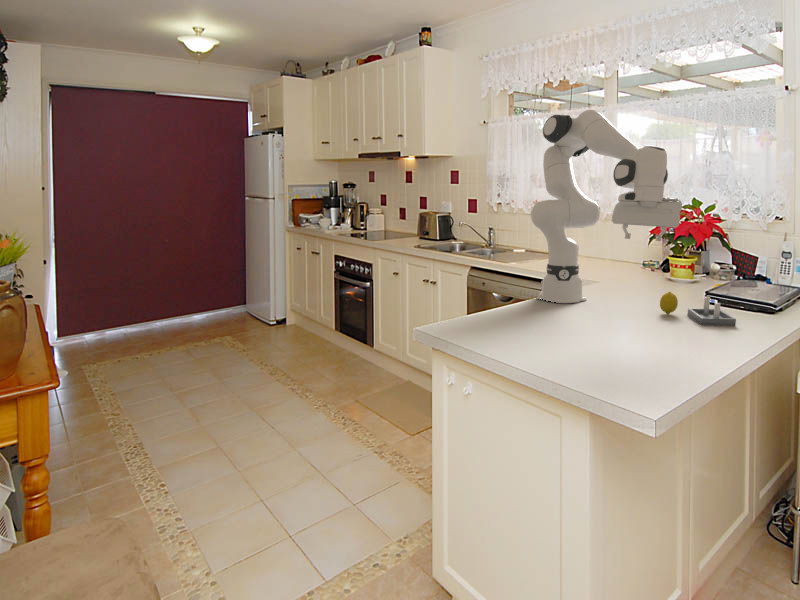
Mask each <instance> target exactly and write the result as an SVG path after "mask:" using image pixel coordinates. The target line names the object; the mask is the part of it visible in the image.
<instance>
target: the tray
mask: <svg viewBox="0 0 800 600" xmlns="http://www.w3.org/2000/svg"><path fill="white" fill-rule="evenodd" d="M710 300H711V297H710V296H705V297H704V301H703V308H687V314H686V316H687V317H688V318H690V319H691V320H692V321H694V322H695V323H696V324H698V325H699V326H700V325H701V326H702V327H723V326H735V327H736V322H737V318H736V317H733V316H732V315H730V314H728V313H727V312H725V311H723V310H722V309H721V305H722V304H721V302H714V308H710V302H711V301H710ZM701 326H700V327H701Z"/></svg>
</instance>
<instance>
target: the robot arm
mask: <svg viewBox="0 0 800 600" xmlns="http://www.w3.org/2000/svg"><path fill="white" fill-rule="evenodd" d="M542 135H543V138H544V139H545V140H546V141H547V142H549V143H551V144H553V145H551V146H549V147H548V148H547V149H545V152H544V154H543V160H542V161H543V163H542V165H543V175H544V176H543V177H544V183H545V188H546V191H547V193H548V194H549V195H550V196H551V197H553V198H555V199H546V200H541V201H537V202H535V204H534V205H533V206H532V208H531V212H530V217H531V218H530V219H531V222H532V224H533V225H534V226H535V227H537V229H539V231H541V232H542V234H543V235H544V237H545V239H546V241H547V248H548V249H547V250H548V261H547V262H548V263H547V265H546V273H547V274H546V275H545V276H544V277H543V278H542V280H541V282H540V287H541V288H540V290H541V291H540V292H539V294H538V295H537V297H536V300H538V299H539V301H544V300H546V301H545V302H548V301H551V302H550V303H554V302H556V303H555V304H557V303H558V304H574V303H579V302H586V301H587V297H586V296H584V295H583V279H582V278H581V277H580V276H579V273H580V264H579V251H580V250H579V245H578V242H577V241H576V240H574V239H572V238H571V237H569V236H566V234H565V229H584V228H588V227H593V226H595V225H596V224H597V223H598V221H599V220H600V216H601V211H600V209H601V208H600V207H599V205H598V203H597V202H596V201H594V199H593V200H592V199H591V198H589V197H588V196H587V195H585V193H583V192H582V190H581V189H580V188H579V186H578V184H577V181H576V177H575V172H574V167H573V162H572V158H573V157H576V158H577V157H580V156H581V155H582V154H585V153H586V152H587V151H588V150H591V151H592V152H593V153H595V154H597V155H601V156H605V157H611V158H615V159H617V160H619V162H617V163H616V164H615V166H614V167H615V168H614V170H613V176H612V177H613V181H614V183H615V184H616V185H617V186H618V187H621V188H626V189H632V190H633V191H627V192H624V193H621V194H620V195H618V196H617V197H618V198H617V201H618V202H617V203H616V204H615V206H614V207H613V212H612V215H611V222H612V224H613V225H622V227H621V228H622V230H623V233H624V239H625V240H626V239H627V240H630V239H631V233H630V232H628V230H627V228H628V227H629V226H644V227H658V228H659V227H660V233H659V234H655V241H657V242H661V241H662V239H663V235H665V234H666V232H667V228H677V227H679V225H680V223H681V213H680V212H681V211H682V209H683V203H682V201H681V200H680V199H678V198H676V197H673V198H672V197H671V198H670V197H664V191H665V184H666V183H667V181H668V176H669V174H668V173H669V172H668V168H667V165H668V154H667V150H666V149H665V148H664V147H662V146H657V145H655V146H654V145H643V146H640V147H639V146H638V145H636V143H634V142H633V141H631V140H630V139H629V138H628V137H626V135H624V134H623V133H621V132H620V130H619V129H617V127H615V126H614V125H613V123H611V122H610V120H608V118H606V117H605V116H604V115H603V114H601V113H600V112H598V111H596V110H595V109H587V110H584V111H582V112H581V113H580V114H579V115H578V116H577V117H576V118H573V117H571V115H569V114H568V115H567V114H565V115H564V114H553V115H551V116H550V117H548V119H546V121H545V122H544V124H543V128H542ZM540 298H541V300H540ZM542 299H543V300H542Z"/></svg>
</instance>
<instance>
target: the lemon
mask: <svg viewBox="0 0 800 600" xmlns="http://www.w3.org/2000/svg"><path fill="white" fill-rule="evenodd" d="M678 305H679V303H678V297H677V296H676V294H674V293H673V292H671V291H668V292H666V293H663V295H662V296H661V297H660V300H659V308H660V310H661V311H663V312H664V313H665V314H666V315H670V314H672V313H674V312H675V311H676V309H677V308H678Z"/></svg>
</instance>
